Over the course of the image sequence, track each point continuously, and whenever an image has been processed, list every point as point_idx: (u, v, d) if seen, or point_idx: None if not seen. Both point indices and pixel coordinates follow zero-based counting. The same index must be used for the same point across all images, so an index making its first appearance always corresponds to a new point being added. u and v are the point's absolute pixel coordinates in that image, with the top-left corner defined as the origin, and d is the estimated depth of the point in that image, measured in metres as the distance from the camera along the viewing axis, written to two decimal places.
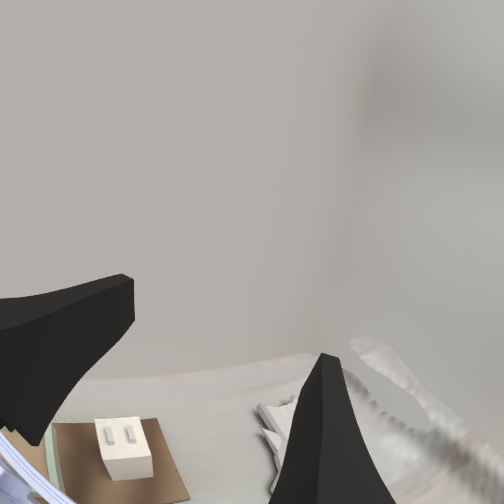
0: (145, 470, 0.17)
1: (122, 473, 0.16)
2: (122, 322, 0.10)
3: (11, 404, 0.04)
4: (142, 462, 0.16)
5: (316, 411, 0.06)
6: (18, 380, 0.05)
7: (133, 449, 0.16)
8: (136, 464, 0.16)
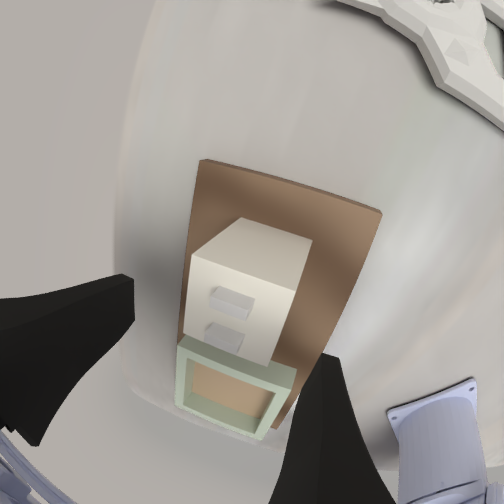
0: None
1: None
2: (122, 322, 0.10)
3: (11, 404, 0.04)
4: None
5: (316, 411, 0.06)
6: (18, 380, 0.05)
7: (266, 313, 0.10)
8: None
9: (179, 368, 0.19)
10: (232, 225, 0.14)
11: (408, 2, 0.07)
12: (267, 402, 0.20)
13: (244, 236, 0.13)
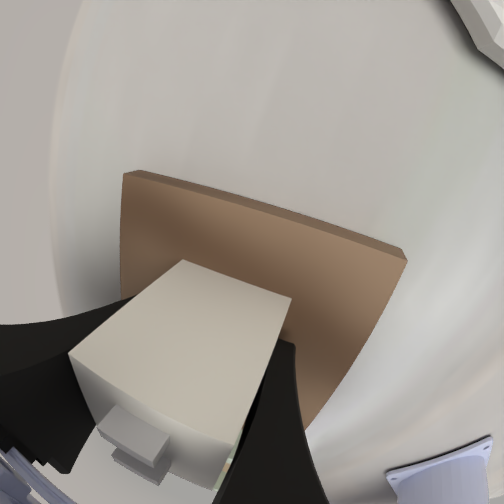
0: None
1: None
2: None
3: (44, 439, 0.04)
4: None
5: (260, 393, 0.06)
6: (52, 414, 0.05)
7: (193, 452, 0.05)
8: None
9: None
10: (161, 278, 0.08)
11: None
12: None
13: (172, 303, 0.07)
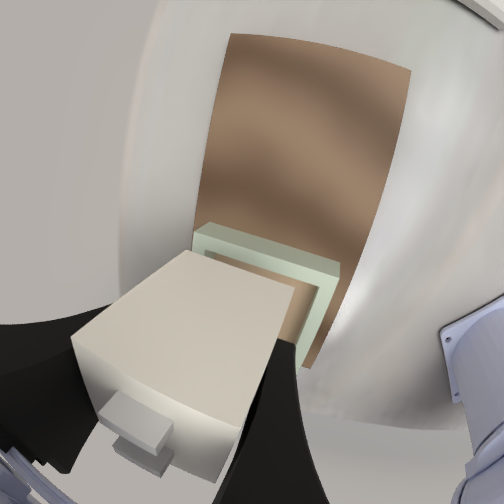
0: None
1: None
2: None
3: (44, 438, 0.04)
4: None
5: (260, 393, 0.06)
6: (51, 413, 0.05)
7: (197, 440, 0.05)
8: None
9: None
10: (165, 267, 0.08)
11: None
12: (302, 321, 0.17)
13: (177, 290, 0.08)
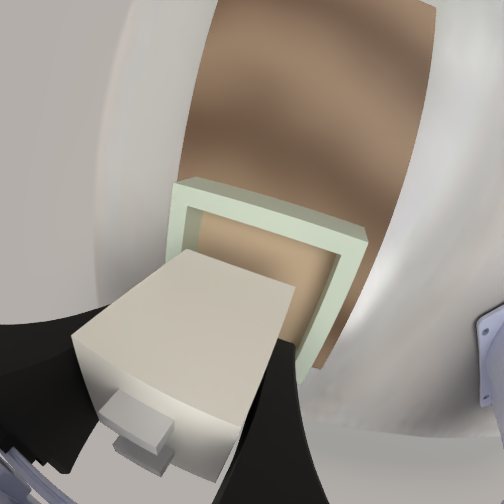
0: None
1: None
2: None
3: (44, 439, 0.04)
4: None
5: (259, 393, 0.06)
6: (52, 414, 0.05)
7: (197, 439, 0.05)
8: None
9: (172, 236, 0.12)
10: (166, 266, 0.08)
11: None
12: (313, 307, 0.13)
13: (177, 289, 0.08)
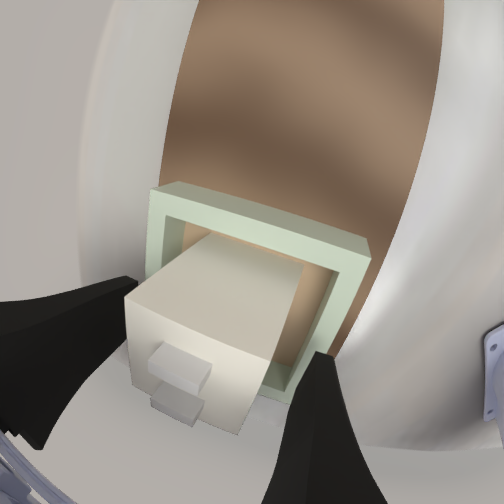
0: None
1: None
2: None
3: (15, 409, 0.04)
4: None
5: (309, 409, 0.06)
6: (22, 384, 0.05)
7: (230, 382, 0.07)
8: None
9: (151, 248, 0.11)
10: (196, 245, 0.10)
11: None
12: (308, 325, 0.12)
13: (208, 262, 0.09)
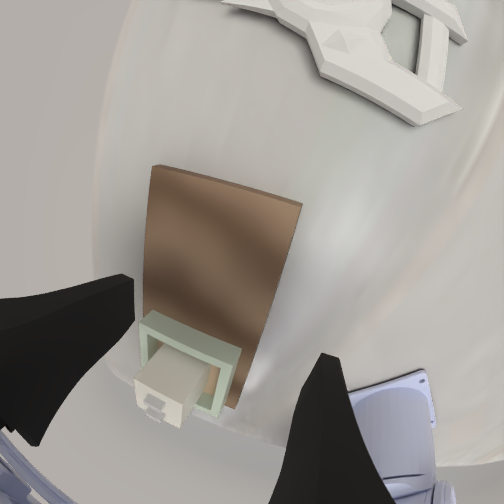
0: (201, 378, 0.20)
1: (200, 391, 0.21)
2: (122, 322, 0.10)
3: (11, 404, 0.04)
4: (190, 397, 0.18)
5: (316, 411, 0.06)
6: (18, 380, 0.05)
7: (172, 408, 0.17)
8: (191, 398, 0.19)
9: (142, 344, 0.21)
10: (162, 347, 0.21)
11: (294, 2, 0.10)
12: None
13: (166, 358, 0.20)
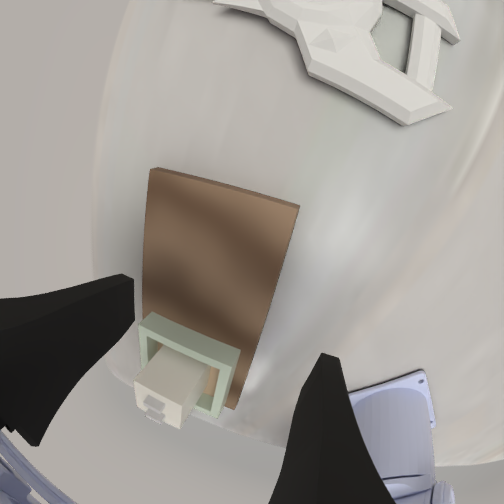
0: (201, 379, 0.20)
1: (199, 392, 0.21)
2: (122, 322, 0.10)
3: (11, 404, 0.04)
4: (189, 398, 0.18)
5: (316, 411, 0.06)
6: (18, 380, 0.05)
7: (172, 409, 0.17)
8: (190, 399, 0.19)
9: (142, 346, 0.21)
10: (161, 348, 0.21)
11: (283, 1, 0.10)
12: None
13: (166, 360, 0.20)
